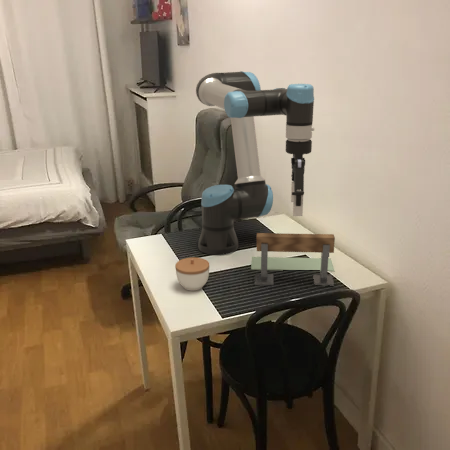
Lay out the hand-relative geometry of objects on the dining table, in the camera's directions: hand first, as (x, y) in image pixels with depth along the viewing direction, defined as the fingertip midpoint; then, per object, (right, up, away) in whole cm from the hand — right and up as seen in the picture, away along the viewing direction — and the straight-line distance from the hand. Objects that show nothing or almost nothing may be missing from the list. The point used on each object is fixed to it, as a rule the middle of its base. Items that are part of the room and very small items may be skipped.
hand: (296, 208), depth 151 cm
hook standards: (0, -23, +9) cm, 25 cm away
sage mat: (+1, -19, +21) cm, 28 cm away
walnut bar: (0, -13, +5) cm, 14 cm away
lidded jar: (-32, -25, +7) cm, 41 cm away
